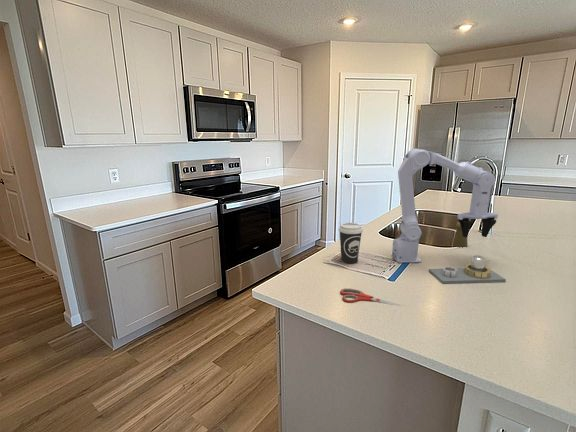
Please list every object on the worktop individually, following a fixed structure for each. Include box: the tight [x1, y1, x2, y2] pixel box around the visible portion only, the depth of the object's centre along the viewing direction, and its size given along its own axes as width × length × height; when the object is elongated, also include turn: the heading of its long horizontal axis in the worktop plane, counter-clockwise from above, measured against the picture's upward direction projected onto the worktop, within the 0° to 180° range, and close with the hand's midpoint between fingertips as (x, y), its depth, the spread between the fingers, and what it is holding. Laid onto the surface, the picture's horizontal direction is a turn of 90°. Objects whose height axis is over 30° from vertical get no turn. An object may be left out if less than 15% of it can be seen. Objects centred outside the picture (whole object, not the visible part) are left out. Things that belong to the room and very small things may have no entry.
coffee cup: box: [338, 222, 364, 265], centre depth 124 cm, size 10×10×15 cm
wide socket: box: [463, 263, 492, 279], centre depth 110 cm, size 8×8×2 cm
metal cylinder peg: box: [470, 255, 486, 272], centre depth 110 cm, size 4×4×6 cm
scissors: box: [339, 288, 407, 308], centre depth 97 cm, size 8×21×2 cm, turn 78°
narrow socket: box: [441, 265, 458, 278], centre depth 110 cm, size 5×5×2 cm
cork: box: [452, 221, 468, 249], centre depth 140 cm, size 6×6×11 cm
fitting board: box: [428, 267, 507, 285], centre depth 111 cm, size 22×10×1 cm, turn 92°
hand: (474, 236), depth 121 cm, fingers open, 7 cm apart
